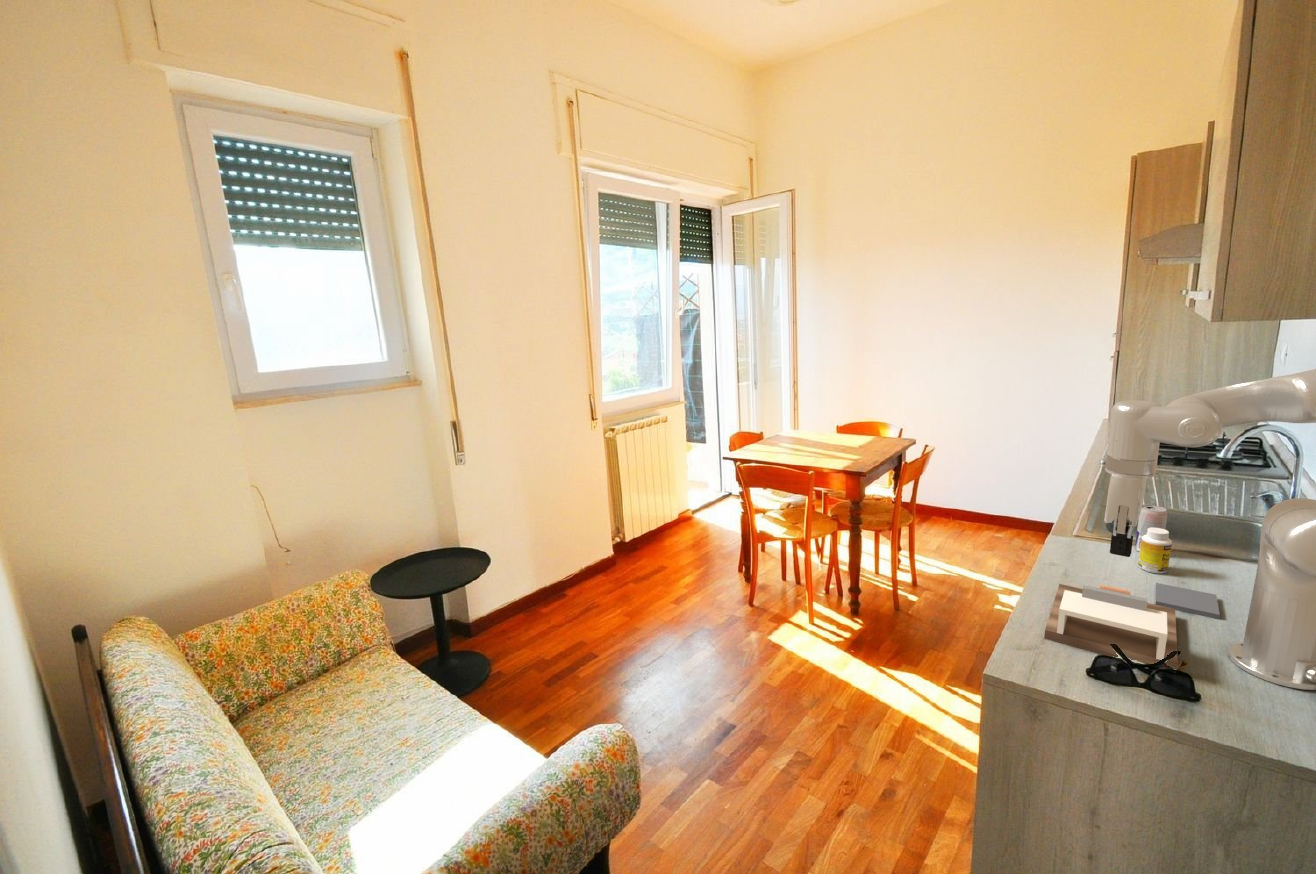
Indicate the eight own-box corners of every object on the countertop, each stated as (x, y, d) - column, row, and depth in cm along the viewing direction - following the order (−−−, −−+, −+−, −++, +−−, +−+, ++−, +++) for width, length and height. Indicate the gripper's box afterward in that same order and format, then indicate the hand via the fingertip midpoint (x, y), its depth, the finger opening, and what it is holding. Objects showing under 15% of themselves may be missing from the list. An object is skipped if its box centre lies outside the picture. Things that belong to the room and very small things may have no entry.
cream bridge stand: (1062, 612, 121) (1065, 581, 119) (1163, 637, 110) (1168, 603, 109) (1056, 632, 114) (1060, 599, 112) (1163, 660, 104) (1168, 624, 102)
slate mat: (1215, 598, 126) (1216, 594, 126) (1219, 619, 119) (1219, 614, 119) (1155, 586, 133) (1156, 582, 132) (1155, 605, 125) (1156, 601, 125)
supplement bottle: (1162, 576, 137) (1168, 536, 134) (1134, 568, 141) (1139, 530, 139) (1171, 569, 140) (1177, 530, 137) (1142, 562, 144) (1148, 524, 142)
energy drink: (1151, 547, 152) (1157, 504, 149) (1166, 556, 146) (1173, 511, 144) (1129, 547, 152) (1135, 505, 149) (1144, 556, 147) (1150, 512, 144)
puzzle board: (1058, 591, 133) (1059, 583, 133) (1173, 617, 120) (1175, 608, 120) (1044, 638, 116) (1045, 629, 116) (1176, 674, 103) (1177, 664, 103)
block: (1097, 609, 125) (1100, 584, 124) (1126, 616, 122) (1130, 591, 121) (1095, 620, 121) (1098, 594, 120) (1126, 627, 118) (1129, 601, 117)
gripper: (1111, 453, 118) (1102, 537, 122) (1100, 472, 107) (1090, 562, 111) (1159, 458, 112) (1148, 545, 117) (1153, 478, 102) (1141, 573, 106)
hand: (1120, 553), depth 114 cm, fingers closed
